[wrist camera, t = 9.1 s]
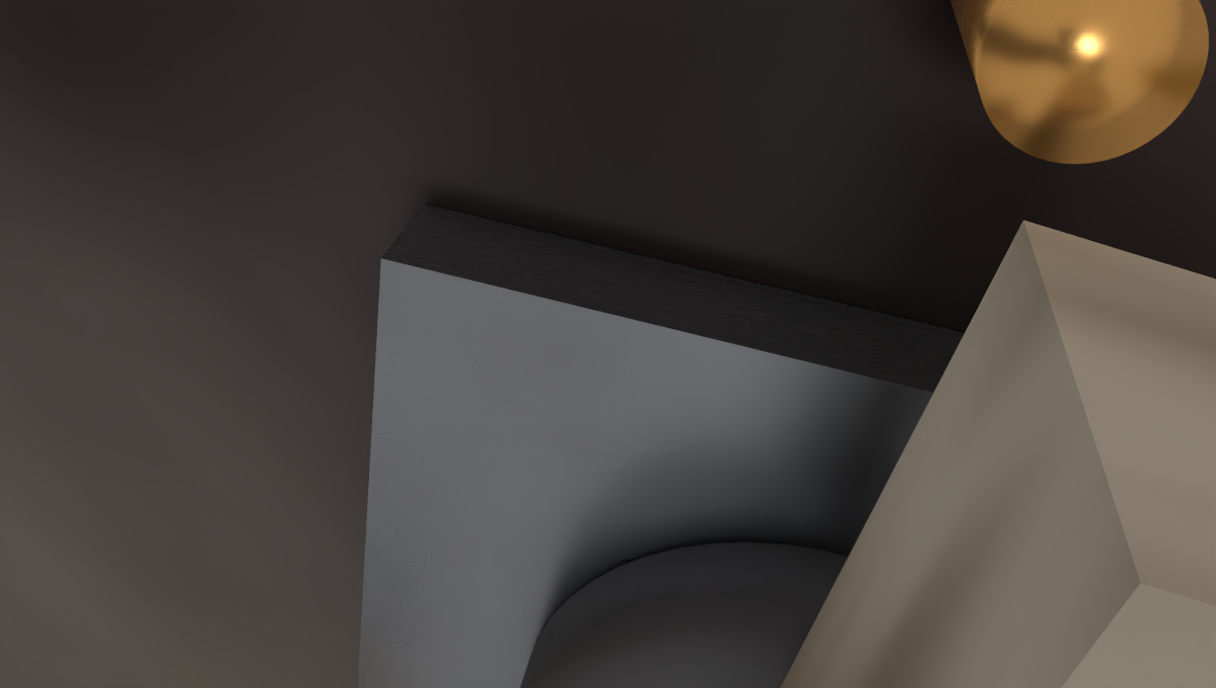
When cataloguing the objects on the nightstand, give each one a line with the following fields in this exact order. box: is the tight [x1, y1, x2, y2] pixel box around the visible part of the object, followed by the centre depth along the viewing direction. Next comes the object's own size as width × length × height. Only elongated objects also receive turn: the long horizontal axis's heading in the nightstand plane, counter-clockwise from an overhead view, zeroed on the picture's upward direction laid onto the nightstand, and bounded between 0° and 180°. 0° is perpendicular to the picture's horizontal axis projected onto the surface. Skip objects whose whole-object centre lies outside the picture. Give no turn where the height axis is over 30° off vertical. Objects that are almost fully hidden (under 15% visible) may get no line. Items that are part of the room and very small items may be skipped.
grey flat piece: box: [358, 0, 1209, 688], centre depth 13 cm, size 12×17×4 cm
